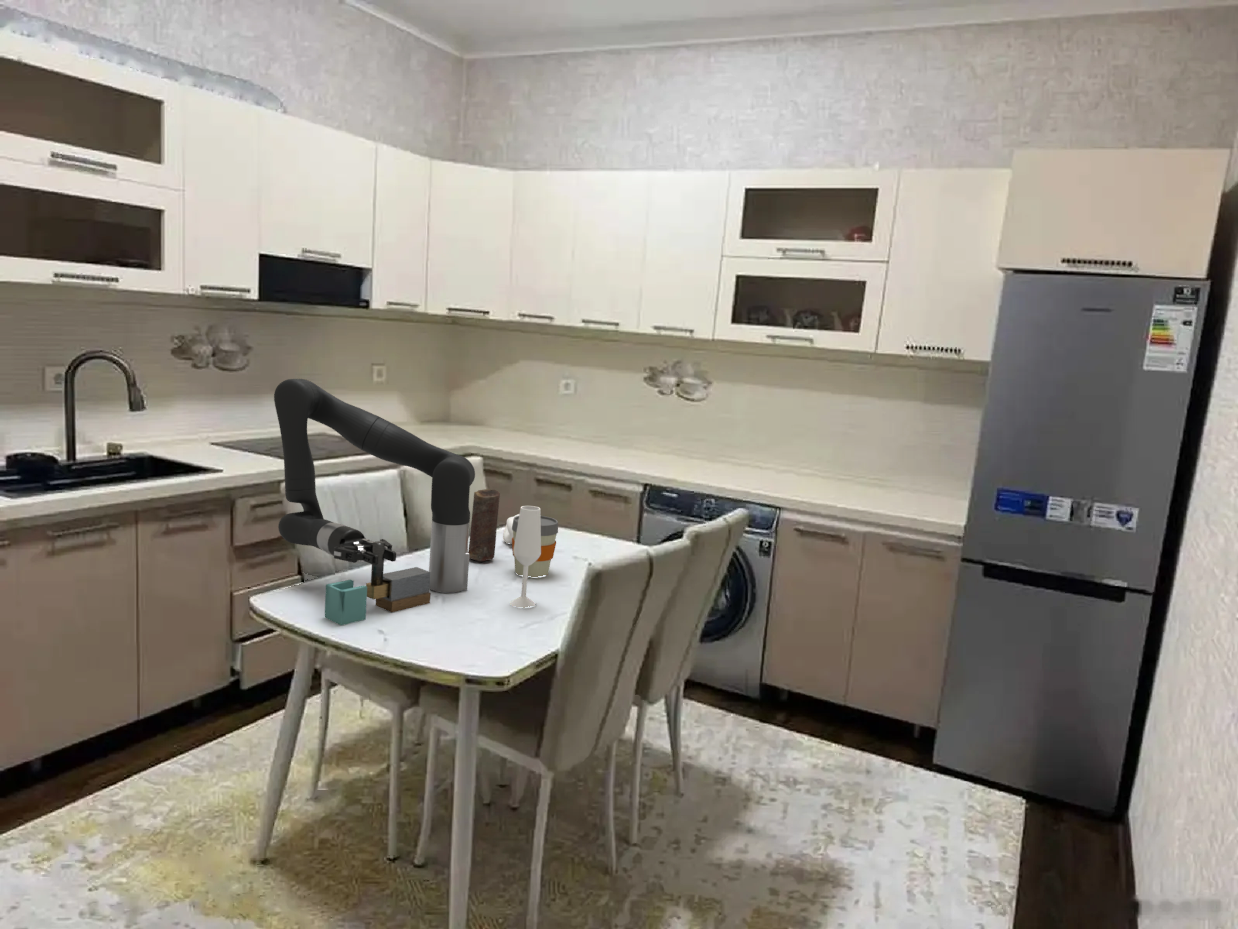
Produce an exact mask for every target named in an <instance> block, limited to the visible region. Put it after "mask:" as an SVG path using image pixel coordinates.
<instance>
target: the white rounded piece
mask: <svg viewBox="0 0 1238 929" xmlns="http://www.w3.org/2000/svg"><path fill="white" fill-rule="evenodd" d="M519 515H520V513H518V514H516V515H514V516H510V517H508V518H507V519H506V525H505V527H504V529H503V533H502V540H503V541H505V542H506V543H505V542H504V543H505V544H507V543H510V544H509V545H512V538H513V530H512V525H513V519H514V517H516V516H519Z"/></svg>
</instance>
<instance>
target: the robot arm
mask: <svg viewBox="0 0 1238 929" xmlns="http://www.w3.org/2000/svg"><path fill="white" fill-rule="evenodd" d="M273 401H274V407H275V412H276V415H277V421H278V425H279V431H280V436H281V444H282V451H283V452H282V453H283V454H282V455H283V465H284V468H283V469H284V470H283V472H284V493H285V494H284V495H285V499H286V500H287V502H288V503H289V502H290V503H294V504H300V505H301V506H302V509H303V510H302V511H296V512H289V513H287V514H285V515H283V516H282V517H281V518H280V520H279V521H278V526H277V527H278V533H279V535H280V536H281V538H283V540H285V541H286V542H288V543H290V544H295V545H301V546H308V547H309V546H310V547H314V548H317V549H318V550H320V551H323V552H325V553H326V554H328V555H330V556H333V559H336V560H340V561H344V562H345V561H346V562H349V563H353V564H354V563H355V564H356V563H357V562H358V561H359V562H360V563H368V564H371V565H372V564H373V565H377V564H378V555H376V554H373V553H372V550H373V542H374V541H372V540H370V539H367V538H366V537H365V536H364V534H363V532H362V531H360V530H358V529H356V528H353V527H351V526H348V525H345V524H342V523H339V522H334V521H331V520H328V519H324V515H323V513H322V512H323V511H322V509H321V507H320V503H319V500H318V497H317V492H316V491H317V490H316V487H317V486H316V471H315V462H314V458H313V454H312V451H311V448H310V443H309V437H308V436H309V435H308V419H310V420H313V421H315V422H317V423H318V424H321V425H324V426H326V427H328V428H330V429H332V430H333V431H334V432H336V433H337V434H339V435H340V436H341V437H342V438H343V439H345V440H346V441H347V442H349V444H351V445H352V446H354V447H355V448H357V449H359V450H361V451H364V452H365V453H367V454H369V455H371V456H373V457H375V458H377V459H379V460H383V461H386V462H388V463H393V464H396V465H401V466H405V467H409V468H412V469H414V470H418V471H420V472H422V473H423V474H426V475H427V476H429V477H431V494H430V495H431V496H430V509H431V528H430V529H431V531H430V532H431V533H430V545H429V546H430V548H429V549H430V550H429V562H428V571H429V572H430V588H429V590H431V591H433V592H437V593H442V594H445V593H447V594H451V593H459V592H463V591H468V582H469V581H468V580H469V567H470V566H469V565H470V558H469V552H468V550H469V539H470V524H471V523H470V521H471V511H470V492H471V491H470V490H471V485H472V484H473V483H474V480H475V477H476V471H475V468H474V465H473V464H472V462H471V461H470V460H469V459H468V458H466V457H464V456H463V455H460V454H457V453H454V452H451V451H448V450H446V449H443V448H441V447H439V446H436V445H434V444H431V443H429V442H428V441H425V440H423V439H422V438H420V437H418V436H416V435H415V434H414V433H411V432H409V431H407V430H406V429H404V428H402V427H400V426H398V425H397V424H394V423H393V422H391V421H389V420H387V419H384V418H383V417H381V416H379V415H377V414H373V413H372V412H370V411H368V410H366V409H362V408H360V407H358V406H355V405H352V404H349V403H348V402H345V401H344V400H341V399H340V398H338V397H336V396H334V395H332V394H331V393H330V392H328V391H326V390H324V389H323V388H322V387H321V386H319V385H318V384H315V383H314V382H312V381H310V380H308V379H303V378H288V379H285V380H282V381H281V382H280V383H279V384H278V385H277V386H276V388H275V390H274V393H273ZM379 541H381V542H385V550H384V560H386V561H388V562H396V561H397V551H394V550H393V545H392V543H390V542H389V541H387V540H386V539H384V538H381V539H379Z"/></svg>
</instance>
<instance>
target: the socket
mask: <svg viewBox="0 0 1238 929" xmlns="http://www.w3.org/2000/svg"><path fill="white" fill-rule="evenodd" d="M354 582H355V581H354V580H353V579H348V580H342V581H337V582H332V583H326V584H325V596H324V597H325V598H324V599H325V600H324V601H325V602H324V618H325V619H327V620H329V621H330V622H333V623H335V624H338V625H339V626H344V625H348V624H353V623H356V622H361V621H364V620H366V619H367V600H368V599H367V598H368V597H367V586H366V585H364V584H363V585H359V586H354V585H355V584H354Z"/></svg>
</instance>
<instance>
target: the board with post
mask: <svg viewBox="0 0 1238 929" xmlns="http://www.w3.org/2000/svg"><path fill="white" fill-rule="evenodd" d="M384 550H385V542H381V541H380V540H377V541H373V550H372V553H373V554H376V555H378V564H377V565H373V564H371V571H370V572H371V574H370V582H365V586H367V598H369V599H371V600H374V601H375V600H376V599H378V598H383V597H387V596H389V595H390V582H388V581H386V580H383V574H384V567H385V565H384V564H385V559H384Z"/></svg>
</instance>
